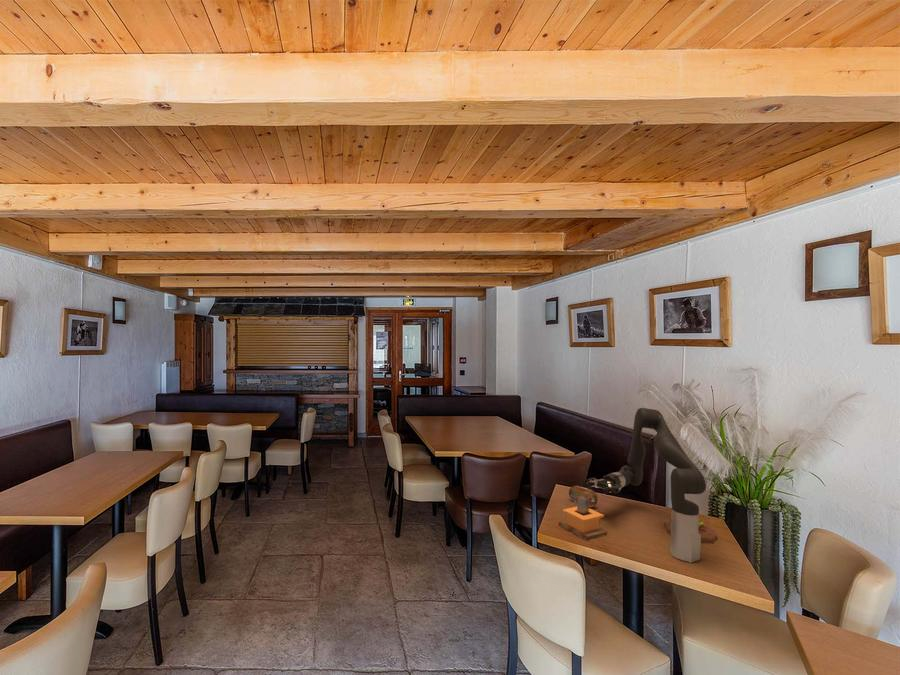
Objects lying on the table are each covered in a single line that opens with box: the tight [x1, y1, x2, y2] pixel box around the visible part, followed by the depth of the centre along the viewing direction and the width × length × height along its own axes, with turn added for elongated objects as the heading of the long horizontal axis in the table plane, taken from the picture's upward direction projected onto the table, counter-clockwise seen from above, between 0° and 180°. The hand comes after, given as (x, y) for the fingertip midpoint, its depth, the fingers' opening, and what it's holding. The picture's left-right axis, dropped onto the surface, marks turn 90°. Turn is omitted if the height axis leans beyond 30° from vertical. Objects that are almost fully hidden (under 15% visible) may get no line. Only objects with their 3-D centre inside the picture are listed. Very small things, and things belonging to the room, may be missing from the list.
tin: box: [568, 485, 599, 509], centre depth 215 cm, size 15×3×8 cm, turn 40°
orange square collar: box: [562, 506, 605, 533], centre depth 185 cm, size 12×12×6 cm
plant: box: [663, 518, 718, 544], centre depth 186 cm, size 20×20×11 cm
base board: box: [558, 519, 608, 541], centre depth 185 cm, size 16×12×2 cm
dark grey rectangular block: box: [576, 496, 589, 516], centre depth 186 cm, size 4×4×12 cm
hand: (594, 488), depth 191 cm, fingers open, 8 cm apart
